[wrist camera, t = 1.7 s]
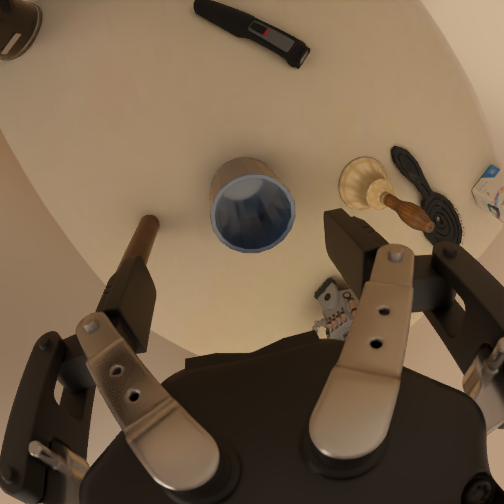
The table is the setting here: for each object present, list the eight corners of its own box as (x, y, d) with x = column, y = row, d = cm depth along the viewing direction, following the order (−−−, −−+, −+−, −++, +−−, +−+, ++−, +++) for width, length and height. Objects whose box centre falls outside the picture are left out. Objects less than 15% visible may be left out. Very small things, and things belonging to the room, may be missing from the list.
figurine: (292, 316, 50) (316, 383, 38) (334, 269, 46) (374, 331, 34) (326, 330, 54) (353, 391, 41) (366, 289, 50) (405, 346, 37)
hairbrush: (418, 133, 33) (472, 234, 43) (404, 130, 37) (461, 226, 46) (384, 170, 36) (447, 264, 45) (372, 164, 39) (436, 255, 48)
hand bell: (331, 169, 38) (394, 212, 24) (378, 148, 37) (453, 181, 23) (347, 217, 42) (404, 276, 28) (390, 196, 41) (456, 243, 27)
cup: (204, 215, 39) (204, 247, 31) (218, 151, 35) (220, 165, 27) (267, 226, 41) (281, 258, 33) (284, 165, 37) (305, 184, 29)
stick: (139, 231, 38) (108, 304, 25) (141, 213, 37) (107, 280, 23) (158, 234, 39) (136, 308, 25) (160, 216, 38) (135, 285, 24)
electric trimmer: (204, -4, 24) (203, -13, 21) (310, 50, 29) (318, 46, 26) (188, 18, 25) (186, 10, 23) (296, 71, 31) (303, 69, 28)
